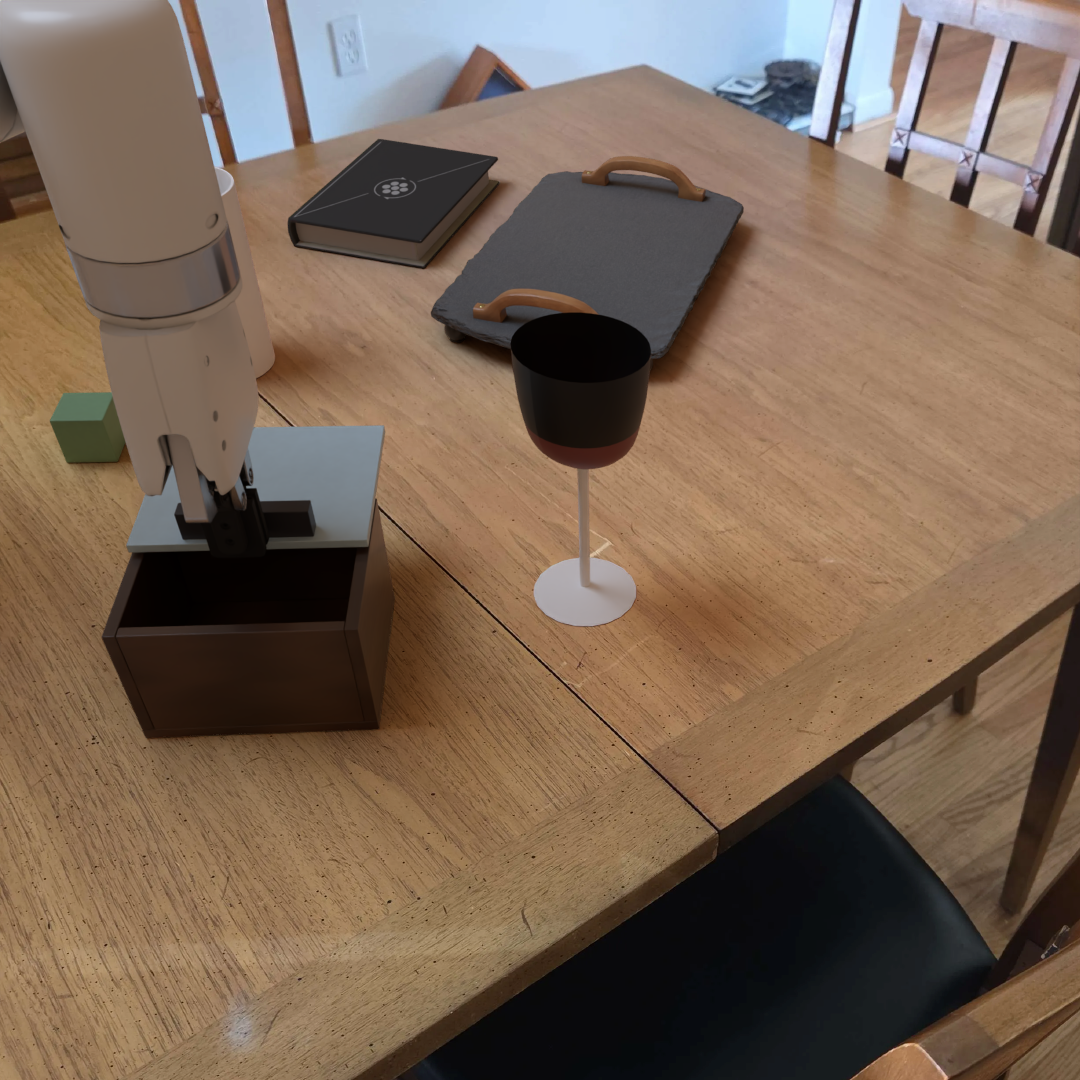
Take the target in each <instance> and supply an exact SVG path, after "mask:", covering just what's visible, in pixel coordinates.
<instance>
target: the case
mask: <svg viewBox="0 0 1080 1080" xmlns="http://www.w3.org/2000/svg"><path fill="white" fill-rule="evenodd" d="M381 519H382V518H381V514H380V508H379V503H378V499H377V497H376V498H375V505H374V512H373V519H372V525H371V532H370V539H369V545H368V547H340V548H298V549H266V552H265V555H264V556H263V557H245V558H216V557H214V556H212V555H211V553H210V551H173V552H132V553H131V555H130V557H129V560H128V562H127V566H126V568H125V571H124V573H123V576H122V579H121V582H120V585H119V588H118V590H117V593H116V596H115V598H114V601H113V603H112V607H111V610H110V613H109V615H108V618H107V620H106V623H105V626H104V627H103V628H104V629H103V631H102V634H101V640H102V642H103V644H104V647H105V649H106V651H107V653H108V656H109V658H110V661H111V662H112V665H113V667H114V669H115V672H116V674H117V676H118V678H119V681H120V683H121V685H122V687H123V689H124V692H125V695H126V697H127V699H128V702H129V704H130V706H131V708H132V710H133V712H134V714H135V717H136V719H137V722H138V723H139V726H140V728H141V730H142V733H143V736H144V738H145V739H156V738H157V739H159V738H160V739H161V738H162V739H163V738H184V737H186V738H187V737H188V738H189V737H210V736H211V737H213V736H240V735H263V734H265V735H266V734H267V735H269V734H290V733H292V734H293V733H316V732H317V733H319V732H343V731H344V732H345V731H346V732H347V731H368V730H369V731H370V730H371V731H372V730H380V727H381V716H382V709H383V700H384V692H385V683H386V677H387V676H386V674H387V667H388V659H389V651H390V641H391V633H392V624H393V616H394V607H395V601H396V600H395V591H394V586H393V581H392V575H391V569H390V564H389V558H388V553H387V547H386V541H385V536H384V531H383V524H382V520H381Z"/></svg>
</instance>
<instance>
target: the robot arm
mask: <svg viewBox="0 0 1080 1080" xmlns="http://www.w3.org/2000/svg"><path fill="white" fill-rule="evenodd" d="M23 133H25V134H26V137H27V140H28V143H29V146H30V149H31V151H32V154H33V157H34V160H35V162H36V165H37V168H38V171H39V173H40V176H41V179H42V182H43V186H44V188H45V191H46V193H47V195H48V196H47V197H48V199H49V202H50V205H51V207H52V211H53V214H54V216H55V219H56V222H57V225H58V228H59V231H60V234H61V236H62V238H63V242H64V246H65V250H66V252H67V254H68V257H69V260H70V263H71V266H72V269H73V271H74V274H75V277H76V281H77V283H78V286H79V289H80V291H81V294H82V297H83V300H84V303H85V306H86V308H87V310H88V311H89V312H90V313H91V315H93V316H94V317H96V318H97V319H98V320H99V326H98V328H99V329H98V330H99V335H100V342H101V343H100V344H101V349H102V354H103V355H102V356H103V358H104V360H103V361H104V365H105V370H106V374H107V380H108V383H109V387H110V392H112V396H113V400H114V404H115V407H116V411H117V415H118V418H119V421H120V425H121V428H122V432H123V435H124V438H125V442H126V443H125V445H126V448H127V452H128V454H129V458H130V462H131V464H132V468H133V471H134V474H135V478H136V480H137V483H138V485H139V488H140V490H141V491H142V492H143V493H144V495H145V494H146V495H147V496H155V495H162V492H163V490H164V487H165V484H166V481H167V479H168V476H169V473H170V470H171V468H172V465H173V469H174V473H175V478H176V482H177V487H178V491H179V496H180V500H181V505H182V509H183V514H184V518H185V521H186V523H188V524H195V523H201V525H202V528H203V531H204V534H205V537H206V540H207V543H208V547H209V550H210V553H211V555H212V556H214V557H216V558H245V557H263V556H264V555H265V552H266V548H267V547H266V545H267V544H268V541H269V533H268V529H267V525H266V522H265V518H264V514H263V511H262V507H261V503H260V499H259V496H258V492H257V488H246V486H253V483H254V474H253V468H252V464H251V459H250V454H249V450H248V445H249V442H250V439H251V435H252V432H253V428H254V427H255V425H256V424H255V423H256V420H257V416H258V411H259V404H260V403H259V402H260V399H259V398H260V395H259V388H258V381H257V378H256V376H255V372H254V367H253V363H252V359H251V355H250V351H249V347H248V343H247V340H246V336H245V333H244V329H243V326H242V323H241V319H240V316H239V313H238V309H237V306H236V303H235V300H236V299H237V298H238V296H239V295H240V293H241V289H242V278H241V274H240V270H239V266H238V262H237V258H236V254H235V250H234V246H233V241H232V237H231V233H230V229H229V225H228V221H227V218H226V214H225V210H224V206H223V201H222V197H221V193H220V189H219V185H218V180H217V176H216V172H215V168H214V166H215V164H214V160H213V156H212V152H211V147H210V142H209V139H208V135H207V131H206V127H205V122H204V119H203V113H202V110H201V106H200V101H199V98H198V94H197V89H196V85H195V81H194V77H193V73H192V70H191V65H190V61H189V57H188V51H187V48H186V44H185V41H184V36H183V32H182V29H181V25H180V23H179V20H178V16H177V14H176V12H175V10H174V7H173V6H172V5H171V3H170V1H169V0H0V144H1V143H3V142H6V141H8V140H10V139H12V138H14V137H16V136H19V135H21V134H23Z"/></svg>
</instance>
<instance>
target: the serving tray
mask: <svg viewBox="0 0 1080 1080" xmlns="http://www.w3.org/2000/svg"><path fill="white" fill-rule="evenodd" d="M615 171H633V172H634V171H635V172H641V173H648V174H652V175H656V176H649V175H646V174H633V173H618V172H615ZM657 176H659V177H657ZM743 214H744V205H743V204H742V203H741V202H739V201H738V200H736V199H735V198H732V197H731V196H728V195H723V194H721V193H719V192H714V191H711V190H710V189H706V188H703V187H700V186H697V185H694V183H693V182H692V180H690V178H689V177H688V176H687V175H686V174H685V172H683V171H682V169H680V168H679V167H677V166H676V165H673V164H672V163H668V162H666V161H663V160H659V159H655V158H650V157H643V156H636V155H635V156H634V155H621V156H614V157H611V158H609V159H607V160H606V161H604V162H603V163H602V164H601V165H600V166H599V167H597V168H596V169H595V170H587V169H585V170H583V171H559V172H554V173H547V174H546V175H545V176H543V177H542V178H541V179H540V180H539V182H538V183H537V184H536V185H535V186H534V187H533V188H532V189H531V191H530V192H529V193H528V194H527V195H526V196H525V198H523V199H522V200H521V201H520V202H519V203H518V204H517V206H516V207H515V208H514V209H513V212H512V213H511V215H510V216H509V218H508V219H507V220H506V221H505V222H503V223H501V225H499V226H498V227H497V228H496V229H495V230H494V232H493V233H491V234H490V236H489V238H488V240H487V241H486V242H485V243H484V244H483V246H482V248H481V249H480V250H479V251H478V252H477V253H476V254H474V255H473V258H470V259H468V260H467V262H466V264H465V265H464V268H463V269H462V270H461V274H459V275H457V276H456V278H455V279H454V282H452V283H451V284H449V285H448V286H447V287H446V288H445V290H444V292H443V293H442V295H440V296H439V298H438V299H436V300H435V302H434V304H433V306H432V308H431V310H430V316H431V318H433V319H434V320H435V321H437V322H438V323H441V324H442V325H444V326H443V327H444V333H445V336H446V337H447V338H448V339H449V341H450V342H452V343H462V342H464V340H465V338H466V336H469V337H472V338H474V339H477V340H479V341H481V342H485V343H490V344H494V345H497V346H499V347H502V348H505V349H509V350H511V339H512V336H513V335H514V333H515V332H516V331H517V330H518V328H520V327H521V326H522V325H524V324H525V323H527V322H529V321H531V320H533V319H536V318H539V317H542V316H546V315H550V314H557V313H569V312H581V313H592V314H598V315H604V316H608V317H612V318H615V319H618V320H621V321H623V322H625V323H627V324H629V325H631V326H633V327H634V328H636V329H637V330H639V331H640V332H641V333H642V334H643V335H644V336H645V337H646V338H647V340H648V342H649V343H650V347H651V361H650V371H652V369H653V366H654V360H656V359H661V358H663V357H665V355H666V354H667V353H668V352H669V351H670V349H671V347H672V346H673V344H674V342H675V340H676V338H677V336H678V334H679V333H680V331H681V330H682V328H683V325H684V324H685V321H686V319H687V317H688V316H689V314H690V312H691V311H692V310H693V308H694V305H695V302H696V300H698V298H699V295H700V293H701V292H702V291H703V290H704V286H705V285H706V282H707V280H708V278H709V277H711V273H712V270H714V269H715V267H716V264H717V262H718V261H719V259H720V258H721V256H722V254H723V251H724V249H725V248H726V246H727V244H728V241H729V240H730V238H731V236H732V235H733V234H734V231H735V229H736V227H737V225H738V223H739V221H740V219H741V218H742V216H743Z"/></svg>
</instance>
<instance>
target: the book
mask: <svg viewBox="0 0 1080 1080" xmlns="http://www.w3.org/2000/svg"><path fill="white" fill-rule="evenodd" d="M498 161H499V157H498V156H495V155H488V154H482V153H475V152H468V151H462V150H456V149H450V148H449V149H448V148H442V147H435V146H428V145H424V144H418V143H417V144H416V143H410V142H403V141H397V140H390V139H384V138H377V139H376V140H375V141H374V142H373V143H372V144H370V145H369V146H368V147H367V148H366V149H364V151H362V152H361V153H360V154H359V155H358V156H356V158H355V159H353V160H352V161H351V162H350V163H349V164H347V166H345V168H343V169H342V170H341V171H340V172H338V174H337V175H335V176H334V177H333V178H331V180H329V182H327V183H326V184H325V185H324V186H323V187H321V189H319V190H318V191H317V192H315V194H314V195H312V196H311V197H310V198H309V199H308V200H307V201H305V203H303V204H302V205H301V206H300V207H299V208H298V209H297V210H295V211H294V212H293V213H292V214H290V216H289V217H288V218H287V231H288V232H287V233H288V236H289V239H290V241H291V243H292V245H293V246H294V247H297V248H302V249H307V250H308V249H309V250H315V251H320V252H327V253H332V254H338V255H345V256H349V257H355V258H362V259H368V260H374V261H378V262H384V263H391V264H396V265H402V266H408V267H414V268H420V269H426V267H427V266H429V264H430V263H431V261H433V259H434V258H435V257H436V256H437V255H438V254H439V253H440V251H441V250H442V249H443V248H444V247H445V246H446V245H447V244H448V243H449V241H450V240H451V239H453V237H454V236H455V234H457V232H458V231H459V230H460V229H461V228H462V226H463V225H465V223H466V222H467V221H468V220H469V219H470V218H471V217H472V215H473V214H474V213H475V212H476V211H477V210H478V209H479V207H481V205H482V204H483V203H484V202H485V200H486V199H488V197H489V196H491V194H492V193H493V192H494V190H495V189H496V188H497V187H498V186H499V185H500V183H501V182H500V181H499V180H496V179H490V177H489V171H490V170H491V168H492V167H493V166H494V165H495V164H496V163H497V162H498Z"/></svg>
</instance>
